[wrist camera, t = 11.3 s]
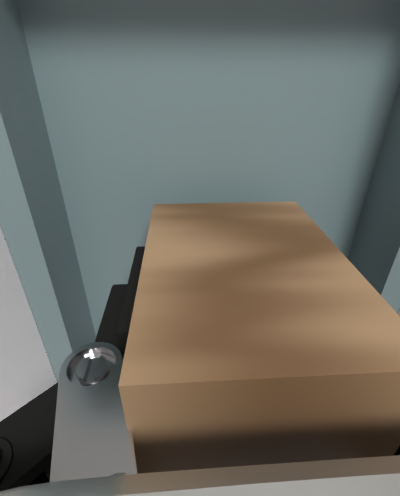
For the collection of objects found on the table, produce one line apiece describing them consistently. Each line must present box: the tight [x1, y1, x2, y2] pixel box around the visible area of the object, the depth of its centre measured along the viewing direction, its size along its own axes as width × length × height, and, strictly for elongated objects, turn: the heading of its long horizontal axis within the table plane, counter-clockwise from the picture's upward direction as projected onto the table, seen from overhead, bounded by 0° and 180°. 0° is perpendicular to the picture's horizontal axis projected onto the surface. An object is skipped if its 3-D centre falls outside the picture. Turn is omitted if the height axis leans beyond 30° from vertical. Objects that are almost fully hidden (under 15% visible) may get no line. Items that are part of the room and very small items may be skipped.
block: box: [118, 201, 400, 474], centre depth 9 cm, size 5×5×7 cm
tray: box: [0, 0, 400, 383], centre depth 12 cm, size 14×22×3 cm, turn 0°
